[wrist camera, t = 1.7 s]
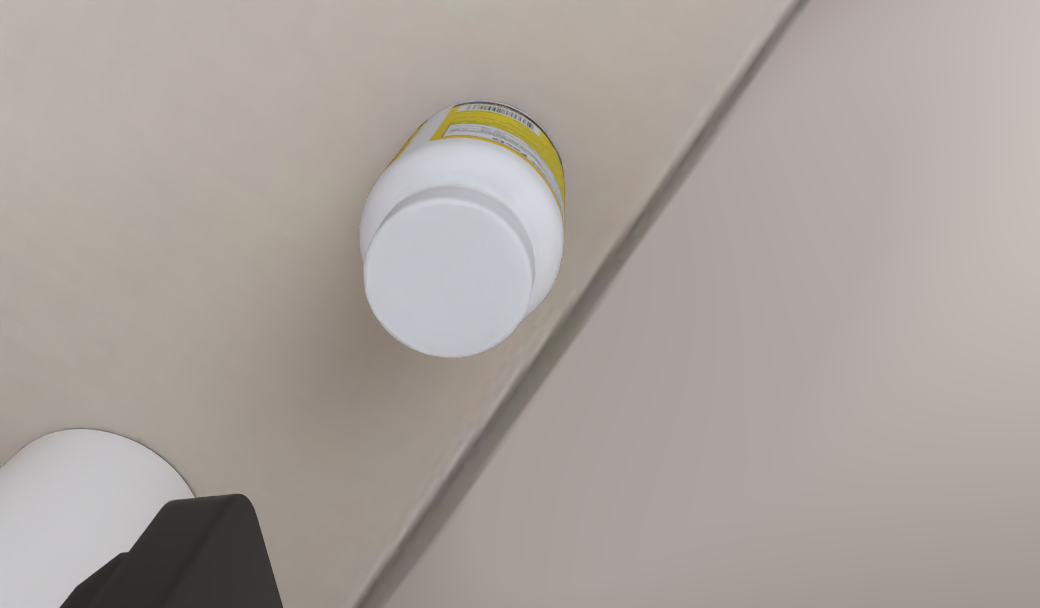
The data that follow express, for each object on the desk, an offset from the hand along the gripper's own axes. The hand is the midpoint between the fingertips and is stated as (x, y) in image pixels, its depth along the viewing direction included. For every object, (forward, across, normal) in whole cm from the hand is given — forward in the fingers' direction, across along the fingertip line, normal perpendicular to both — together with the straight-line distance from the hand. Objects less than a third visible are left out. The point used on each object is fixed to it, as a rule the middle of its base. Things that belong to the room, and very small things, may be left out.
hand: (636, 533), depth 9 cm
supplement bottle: (+22, +4, +1) cm, 22 cm away
